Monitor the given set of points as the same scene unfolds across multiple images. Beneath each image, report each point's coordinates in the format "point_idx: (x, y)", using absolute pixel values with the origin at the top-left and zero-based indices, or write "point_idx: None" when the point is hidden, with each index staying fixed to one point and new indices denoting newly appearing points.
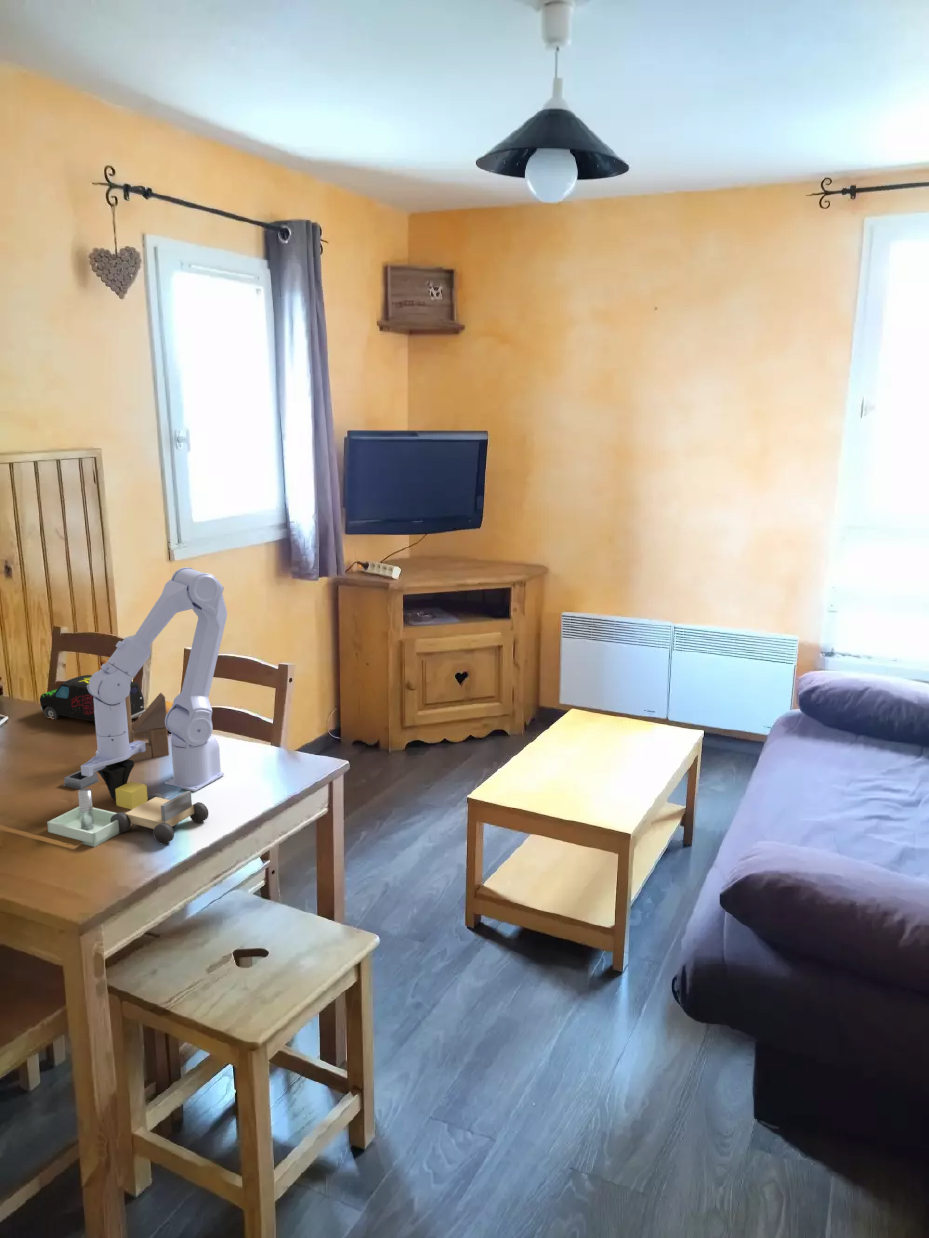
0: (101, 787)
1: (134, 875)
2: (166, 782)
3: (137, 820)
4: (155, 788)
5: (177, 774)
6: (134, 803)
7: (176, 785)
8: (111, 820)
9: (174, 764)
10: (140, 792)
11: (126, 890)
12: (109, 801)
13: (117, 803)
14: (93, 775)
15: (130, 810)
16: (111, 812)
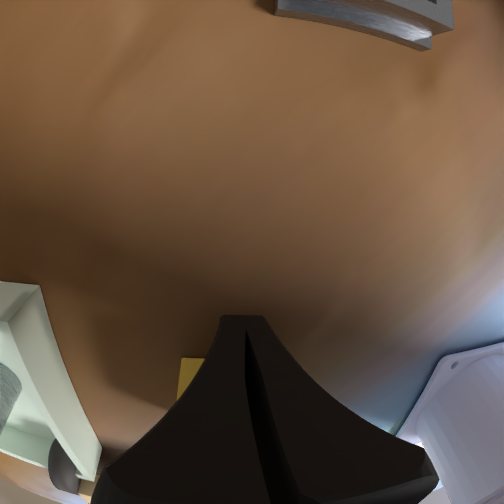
0: (383, 87)
1: (30, 485)
2: (447, 365)
3: None
4: (417, 347)
5: (442, 435)
6: None
7: (422, 404)
8: (50, 454)
9: (468, 451)
10: None
11: (11, 482)
12: (231, 273)
13: (180, 380)
14: (425, 17)
15: None
16: (68, 448)
